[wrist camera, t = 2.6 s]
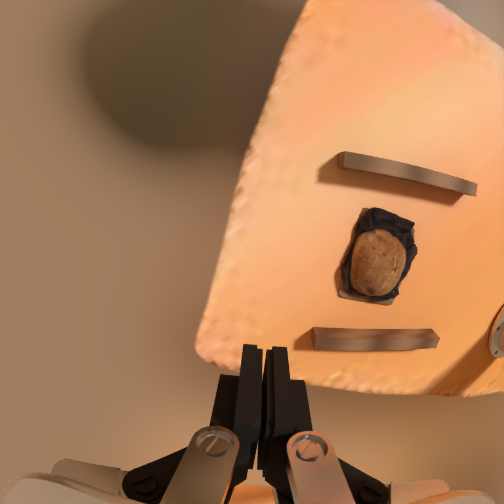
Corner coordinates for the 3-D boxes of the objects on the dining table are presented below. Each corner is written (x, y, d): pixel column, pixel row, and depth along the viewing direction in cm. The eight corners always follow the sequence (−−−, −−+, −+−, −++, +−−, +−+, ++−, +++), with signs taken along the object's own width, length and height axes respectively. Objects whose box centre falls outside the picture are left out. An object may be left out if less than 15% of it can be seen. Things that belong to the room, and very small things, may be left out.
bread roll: (391, 304, 31) (403, 318, 28) (329, 293, 31) (337, 308, 28) (419, 221, 28) (436, 227, 25) (356, 201, 28) (368, 205, 25)
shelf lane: (465, 182, 26) (477, 183, 23) (428, 338, 32) (436, 347, 29) (338, 153, 26) (345, 151, 24) (311, 337, 32) (314, 349, 30)
